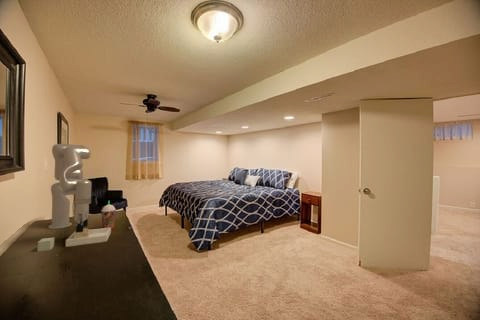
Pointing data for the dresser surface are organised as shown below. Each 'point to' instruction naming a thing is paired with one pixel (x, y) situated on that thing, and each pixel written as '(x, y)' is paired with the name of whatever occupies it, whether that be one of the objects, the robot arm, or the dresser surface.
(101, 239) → the tray
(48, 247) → the sage block
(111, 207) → the smoothie
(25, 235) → the dresser surface
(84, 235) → the maple block
